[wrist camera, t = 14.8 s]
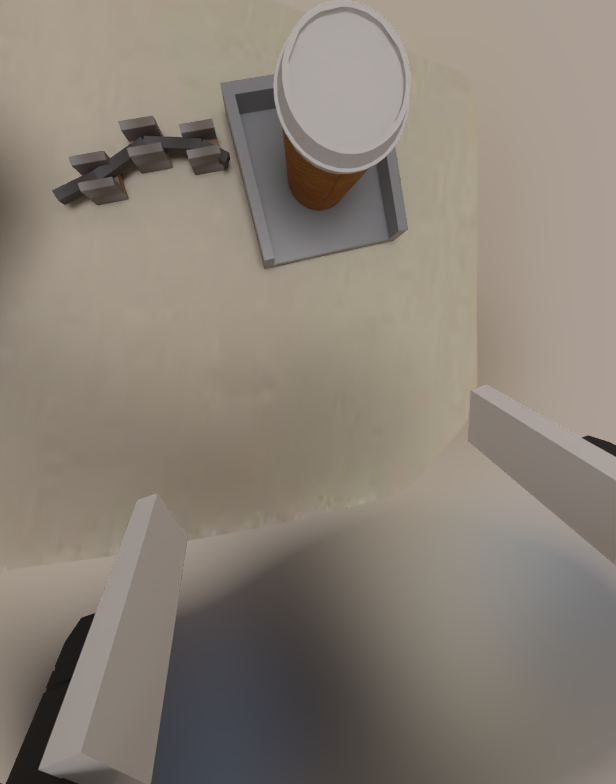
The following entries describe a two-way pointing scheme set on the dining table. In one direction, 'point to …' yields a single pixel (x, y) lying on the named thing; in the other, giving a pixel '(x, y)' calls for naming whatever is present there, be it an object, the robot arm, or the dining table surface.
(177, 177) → the dining table surface
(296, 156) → the disposable coffee cup
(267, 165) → the end holder
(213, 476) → the dining table surface
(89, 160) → the clip strip
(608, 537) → the robot arm
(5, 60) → the dining table surface
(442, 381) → the dining table surface
